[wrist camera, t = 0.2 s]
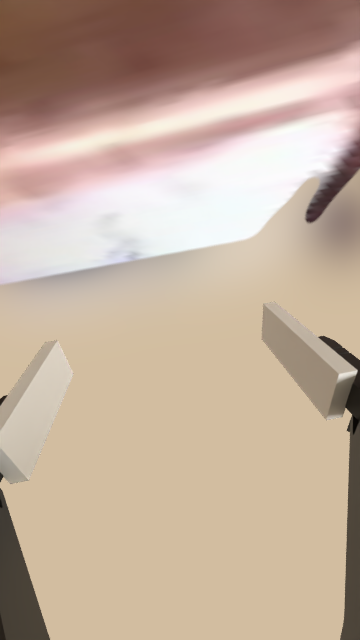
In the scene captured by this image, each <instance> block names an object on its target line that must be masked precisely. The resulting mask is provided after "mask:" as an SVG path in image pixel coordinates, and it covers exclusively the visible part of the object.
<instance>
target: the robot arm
mask: <svg viewBox="0 0 360 640" xmlns="http://www.w3.org/2000/svg"><path fill="white" fill-rule="evenodd" d="M262 340H263V341H264V343H265V344H266V345H267V346H268V348H269V349H270V350H271V351H272V352H273V354H274V355H275V356H276V358H277V359H278V360H279V361H280V363H281V364H282V365H283V366H284V368H285V369H286V370H287V371H288V373H289V374H290V375H291V377H292V378H293V379H294V380H295V382H296V383H297V384H298V385H299V387H300V388H301V389H302V390H303V392H304V393H305V394H306V395H307V397H308V398H309V399H310V400H311V402H312V403H313V404H314V405H315V407H316V408H317V409H318V410H319V412H320V413H321V414H322V416H323V417H324V418H325V419H326V420H330V419H334V418H339V417H343V414H344V411H345V408H347V409H348V410H349V412H350V413H351V414H352V417H351V420H350V423H349V425H348V429H347V431H349V432H350V454H349V457H350V458H349V485H348V486H349V488H348V518H347V549H346V550H347V552H346V581H345V582H346V583H345V612H344V623H343V629H342V633H341V638H340V640H360V360H359V359H358V358H356V357H355V356H354V355H352V354H351V353H349V352H348V351H347V350H346V349H345V348H342V346H341V345H340V344H338V343H337V342H336V341H334V340H332V339H330V338H327V337H325V336H320V337H317V336H316V335H314V334H313V333H312V332H311V331H310V330H308V329H307V328H306V327H305V326H304V325H302V324H301V323H300V322H299V321H298V320H296V319H295V318H294V317H293V316H292V315H290V314H289V313H288V312H287V311H286V310H284V309H283V308H282V307H281V306H280V305H278V304H277V303H276V302H270V303H265V304H263V324H262ZM72 376H73V371H72V369H71V367H70V366H69V363H68V361H67V359H66V357H65V355H64V353H63V351H62V348H61V347H60V344H59V342H58V341H57V340H56V341H51V342H45V343H44V345H43V346H42V347H41V349H40V350H39V352H38V353H37V355H36V356H35V357H34V359H33V360H32V362H31V363H30V365H29V366H28V367H27V369H26V370H25V372H24V373H23V374H22V376H21V377H20V379H19V380H18V382H17V383H16V384H15V386H14V387H13V389H12V390H11V391H10V393H9V394H8V395H6V396H3V397H2V398H1V399H0V482H1V480H2V478H3V477H4V478H5V479H6V480H7V481H8V482H9V483H10V484H13V483H18V482H23V481H28V480H29V479H30V476H31V474H32V471H33V469H34V467H35V465H36V462H37V460H38V457H39V455H40V453H41V450H42V447H43V445H44V443H45V441H46V438H47V436H48V433H49V431H50V429H51V426H52V424H53V421H54V419H55V417H56V414H57V412H58V410H59V407H60V405H61V403H62V400H63V398H64V395H65V393H66V391H67V388H68V386H69V383H70V381H71V378H72ZM0 640H50V638H49V635H48V632H47V629H46V626H45V623H44V619H43V616H42V613H41V610H40V607H39V604H38V601H37V597H36V594H35V591H34V588H33V585H32V582H31V579H30V576H29V573H28V570H27V566H26V563H25V560H24V557H23V554H22V551H21V547H20V544H19V541H18V538H17V535H16V532H15V529H14V526H13V523H12V520H11V516H10V513H9V510H8V507H7V504H6V501H5V498H4V495H3V492H2V490H1V489H0Z"/></svg>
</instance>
